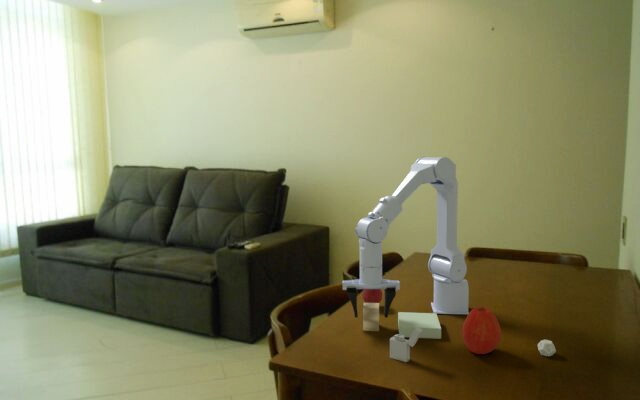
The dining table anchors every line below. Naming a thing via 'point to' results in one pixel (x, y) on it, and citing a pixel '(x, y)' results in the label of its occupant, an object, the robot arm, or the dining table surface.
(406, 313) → the stacking block
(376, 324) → the beech block
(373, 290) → the onion
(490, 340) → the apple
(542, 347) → the game die
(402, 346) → the lighter
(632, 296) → the dining table surface
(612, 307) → the dining table surface
